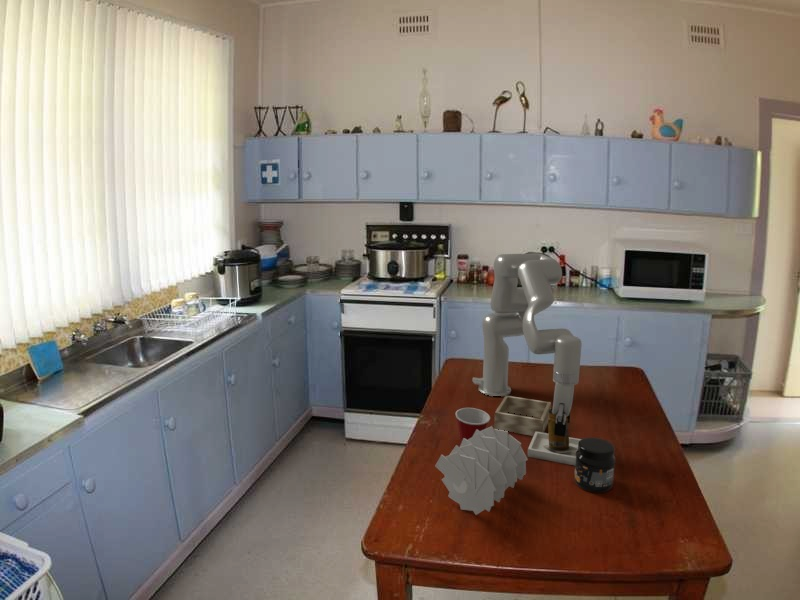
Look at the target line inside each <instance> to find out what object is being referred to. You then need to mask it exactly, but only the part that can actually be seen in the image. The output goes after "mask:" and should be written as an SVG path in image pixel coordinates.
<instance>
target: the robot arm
mask: <svg viewBox="0 0 800 600" xmlns="http://www.w3.org/2000/svg"><path fill="white" fill-rule="evenodd" d="M493 273H494V274H493V275H494V281H493V287H492V291H491V297H490V302H489V303H490V309H491V311H492V312H493V313H487V314H486V315H485V316H484V317H483V319H482V322H481V323H482V325H481V327H482V333H483V334H482V335H483V365H482V366H483V367H482V377H476V376H475V377H474V376H473V377H472V382H473V384H474V385H478V391H480V392H481V394H482V393H483V394H482V395H484V394H485V395H484V396H487V395H489V396H488V397H493V396H501V397H505V396H509V395H510V394H511V392H512V389H511V387H510V385H508V376H509V358H510V357H509V354H510V353H509V351H510V350H509V346H508V344H507V343H506V341H505V340H504V338H511V337H512V338H513V337H521V336H524V339H525V341H526V346H527V347H528V349H529V350H530V352H532V354H534V355H549V354H554V356H553V358H554V359H553V370H552V371H553V372H552V381H553V382H554V383H555V385H554V392H553V403H552V408H553V410H552V413H553V414H556V413H557V415H556V422H555V430H554V434H555V435H558V436H563V437H564V436H565V433H566V424H565V422H566V417H567V419H568V424H569V423H570V421H571V410H572V406H573V401H574V391H575V386H576V385H578V384H579V379H580V368H581V357H582V355H581V353H582V340H581V339H580V338H579V337H577V336H574V334H573V333H572V332H571V331H570V330H569V329H567V328H548V329H538V328H537V326H536V323H535V322H536V321H535V315H537V314H539V313H540V312H544V311H545V310H546V309H548V308H550V307H551V306H552V305H553V304H554V302H555V296H554V293H553V290H552V287H551V285H556V284H558V283H559V282H561V280H562V277H563V270H562V266H561V265H560V263H559V262H558V261H557V260H556V259H555V258H552V257H551V256H548V255H546V254H543V253H539V252H537V253H536V252H533V253H531V252H530V253H505V254H504V253H503V254H497V256H496V257H495V258H494V261H493ZM518 279H519V280H518ZM518 281H520V284H521V286H519V287H518V284H519V282H518ZM480 392H479V393H480ZM563 413H565V414H563ZM562 416H563V417H564V419H563V418H562Z"/></svg>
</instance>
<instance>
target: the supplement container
mask: <svg viewBox="0 0 800 600" xmlns="http://www.w3.org/2000/svg"><path fill="white" fill-rule="evenodd" d="M615 448H616V447H615V446H614V445H613V443H611V442H610V441H608V440H605V439H602V438H599V437H584V438H582V440H580V441H579V443H578V450H577V452H576V462H575V466H574V475H573V481H574V482H575V484H576V486H578V487H579V488H580V489H583V490H585V491H587V492H590V493H597V494H598V493H605V492H608V491H610V490H611V489H612V488H613V486H614V476H615V475H614V473H615V465H616V457H615V451H616V450H615Z"/></svg>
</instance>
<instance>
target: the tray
mask: <svg viewBox="0 0 800 600" xmlns="http://www.w3.org/2000/svg"><path fill="white" fill-rule="evenodd" d="M582 439H583V438H582ZM582 439H581V438H577V437H576V438H575V437H570V436H569V446H572V447H575V448H577V449H578V443H579V441H580V440H582ZM545 445H549V434H548V433H547V432H544V433H542V432H535V434H534V436H532V439H531V441H530V443H529V446H528V447H527V458H534V459H538V460H544V461H549V462H554V463H559V464H564V465H565V464H566V465H569V466H570V465H571V466H574V467H575V462H576V452H577V450H575V451H571V452H565V453H558V452H555V451H553V450H550V449H548V448H545V447H544V446H545Z"/></svg>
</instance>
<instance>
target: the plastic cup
mask: <svg viewBox="0 0 800 600" xmlns="http://www.w3.org/2000/svg"><path fill="white" fill-rule="evenodd" d="M455 418H456V422H457V426H458V434H459V441H460V444H461V443H462V440H463V438H465V439H467V440H468V439H470V438H471V437H473V435H474V433H475V431H476V430H477V429H478V430H479V431H482V430H484V429H486V428H487V425H488V424H489V422H490V420H491V416H490V414H489V413H487V412H486V411H484V410H482V409H479V408H474V407H463V408H460V409H457V410H456V411H455Z"/></svg>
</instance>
